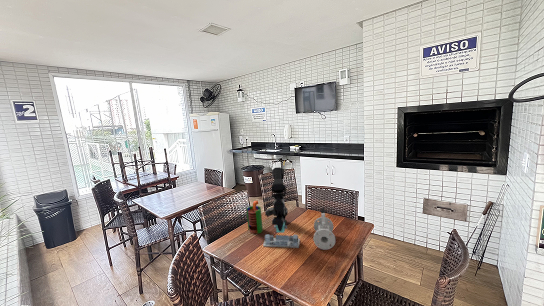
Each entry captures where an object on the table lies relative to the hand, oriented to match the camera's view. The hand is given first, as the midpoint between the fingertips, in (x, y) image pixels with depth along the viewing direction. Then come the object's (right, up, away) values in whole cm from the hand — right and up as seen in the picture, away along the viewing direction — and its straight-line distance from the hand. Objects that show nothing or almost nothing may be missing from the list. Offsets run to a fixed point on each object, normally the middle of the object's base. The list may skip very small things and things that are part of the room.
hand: (280, 229), depth 130 cm
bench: (+1, -9, +1) cm, 9 cm away
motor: (-16, -8, +19) cm, 26 cm away
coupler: (0, -1, 0) cm, 1 cm away
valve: (+26, -7, +3) cm, 27 cm away
